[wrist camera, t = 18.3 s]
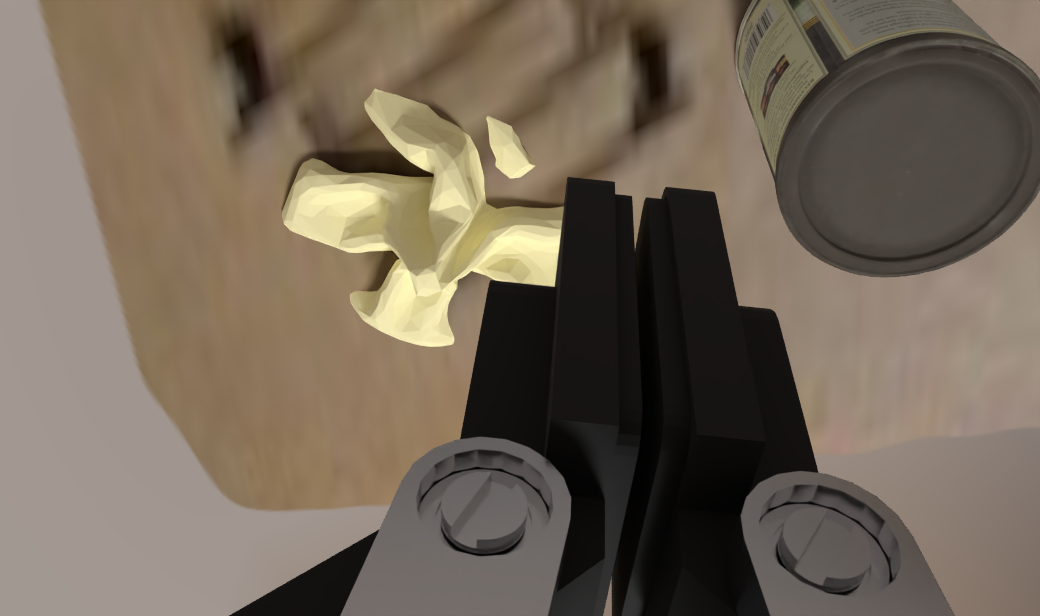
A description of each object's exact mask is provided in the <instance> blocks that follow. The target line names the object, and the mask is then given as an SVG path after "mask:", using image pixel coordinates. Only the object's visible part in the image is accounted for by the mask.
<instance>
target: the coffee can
mask: <svg viewBox="0 0 1040 616" xmlns="http://www.w3.org/2000/svg"><path fill="white" fill-rule="evenodd" d="M735 67H736V72H737V76H738V80H739V83H740V86H741V89H742V91H743V93H744V95H745V96H746V99H747V102H748V105H749V108H750V111H751V114H752V116H753V119H754V122H755V125H756V128H757V131H758V134H759V137H760V140H761V143H762V146H763V150H764V153H765V155H766V159H767V161H768V164H769V167H770V170H771V172H772V175H773V178H774V181H775V187H776V194H777V199H778V203H779V207H780V210H781V213H782V216H783V218H784V220H785V222H786V224H787V226H788V228H789V230H790V232H791V233H792V235H793V236H794V237H795V239H796V240H797V241H798V242H799V243H800V244H801V245H802V246H803V247H804V248H805V249H806V250H807V251H808V252H810V253H811V254H812V255H813V256H815V257H817V258H818V259H820V260H821V261H823V262H825V263H827V264H829V265H831V266H833V267H836V268H838V269H840V270H843V271H847V272H850V273H853V274H857V275H864V276H870V277H900V276H909V275H916V274H921V273H924V272H929V271H934V270H937V269H940V268H943V267H946V266H948V265H951V264H953V263H956V262H958V261H960V260H963V259H965V258H967V257H969V256H970V255H972V254H974V253H976V252H978V251H979V250H981V249H982V248H984V247H985V246H987V245H988V244H990V243H991V242H993V241H994V240H995V239H997V238H998V237H1000V236H1001V235H1002V234H1003V233H1004V232H1006V231H1007V230H1008V229H1009V228H1010V227H1011V226H1012V225H1013V224H1014V223H1015V222H1016V221H1017V220H1018V219H1019V218H1020V217H1021V215H1022V214H1023V213H1024V212H1025V211H1026V210H1027V208H1028V207H1029V206H1030V204H1031V203H1032V202H1033V200H1034V199H1035V198H1036V196H1037V194H1038V192H1039V191H1040V79H1039V78H1038V76H1037V75H1036V74H1035V73H1034V71H1033V70H1032V69H1030V68H1029V67H1028V66H1027V65H1026V64H1025V63H1024V62H1023V61H1021V60H1020V59H1019V58H1017V57H1016V56H1014V55H1013V54H1012V53H1010V52H1009V51H1007V50H1005V49H1004V48H1002V47H1001V46H1000V45H999V44H998V43H997V42H996V41H994V40H993V39H992V38H991V37H990V36H989V35H988V34H987V33H986V32H985V31H984V30H983V29H982V28H981V27H979V26H978V25H977V24H976V23H975V22H974V21H973V20H972V19H971V18H970V17H969V16H968V15H967V14H965V13H964V12H963V11H962V10H961V9H960V8H959V7H958V6H957V5H956V4H955V3H954V2H953V1H952V0H752V2H751V4H750V5H749V7H748V9H747V11H746V13H745V15H744V18H743V20H742V23H741V25H740V29H739V33H738V36H737V42H736V49H735Z"/></svg>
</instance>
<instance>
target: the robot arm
mask: <svg viewBox="0 0 1040 616" xmlns="http://www.w3.org/2000/svg"><path fill="white" fill-rule="evenodd" d="M611 576H612V616H955V615H954V613H953V611H952V609H951V607H950V606H949V604H948V602H947V600H946V598H945V596H944V594H943V593H942V590H941V588H940V587H939V585H938V583H937V581H936V579H935V577H934V575H933V573H932V571H931V570H930V568H929V566H928V564H927V562H926V560H925V558H924V556H923V554H922V552H921V551H920V549H919V547H918V545H917V543H916V541H915V539H914V537H913V536H912V534H911V533H910V531H909V530H908V529H907V527H906V526H905V525H904V523H903V522H902V520H901V519H900V517H899V516H898V515H897V514H896V513H895V512H894V511H893V510H892V509H890V508H889V507H888V506H887V505H886V504H885V503H884V502H883V501H881V500H880V499H879V498H878V497H877V496H875V495H873V494H871V493H870V492H868V491H866V490H864V489H863V488H861V487H859V486H857V485H855V484H854V483H852V482H849V481H846V480H843V479H840V478H837V477H834V476H831V475H828V474H823V473H818V469H817V465H816V462H815V458H814V454H813V450H812V446H811V442H810V438H809V435H808V431H807V427H806V423H805V419H804V416H803V412H802V408H801V404H800V400H799V397H798V393H797V389H796V385H795V381H794V377H793V374H792V370H791V366H790V362H789V358H788V355H787V351H786V347H785V343H784V339H783V335H782V332H781V328H780V324H779V320H778V318H777V316H776V313H775V312H774V311H773V310H771V309H765V308H755V307H745V306H738V301H737V297H736V292H735V287H734V282H733V277H732V272H731V267H730V263H729V258H728V253H727V248H726V243H725V238H724V233H723V229H722V224H721V219H720V214H719V209H718V204H717V199H716V195H715V193H714V192H711V191H701V190H691V189H681V188H671V187H666V188H665V189H664V192H663V195H662V199H656V198H646V199H645V201H644V205H643V210H642V215H641V221H640V227H639V232H638V238H637V243H636V249H635V246H634V226H633V206H632V196H626V195H617V194H615V182H612V181H602V180H592V179H582V178H572V177H568V178H567V185H566V193H565V202H564V210H563V219H562V227H561V236H560V245H559V253H558V262H557V270H556V279H555V287H553V286H543V285H533V284H524V283H514V282H504V281H495V280H491V281H490V283H489V288H488V292H487V298H486V303H485V308H484V314H483V319H482V325H481V330H480V335H479V341H478V346H477V351H476V357H475V362H474V368H473V373H472V378H471V384H470V389H469V395H468V400H467V405H466V411H465V416H464V421H463V427H462V432H461V438H460V439H459V440H454V441H452V442H449V443H446V444H444V445H441V446H439V447H436V448H433V449H432V450H431V451H429V452H428V453H426V454H425V455H424V456H422V457H421V458H420V459H418V460H417V461H416V462H414V464H413V465H412V467H411V468H410V470H409V471H408V472H407V474H406V475H405V477H404V478H403V480H402V481H401V484H400V486H399V488H398V490H397V492H396V495H395V497H394V499H393V501H392V503H391V506H390V508H389V510H388V512H387V515H386V517H385V519H384V521H383V523H382V526H381V527H380V529H379V530H377V531H376V532H374V533H372V534H371V535H369V536H367V537H366V538H364V539H362V540H360V541H358V542H357V543H355V544H353V545H352V546H350V547H348V548H346V549H344V550H343V551H341V552H339V553H337V554H336V555H334V556H332V557H330V558H329V559H327V560H326V561H323V562H322V563H320V564H318V565H317V566H315V567H313V568H311V569H310V570H308V571H306V572H305V573H303V574H301V575H299V576H297V577H296V578H294V579H292V580H290V581H289V582H287V583H285V584H283V585H282V586H280V587H278V588H276V589H275V590H273V591H271V592H270V593H268V594H266V595H264V596H263V597H261V598H259V599H257V600H256V601H254V602H252V603H250V604H249V605H247V606H245V607H244V608H242V609H240V610H238V611H236V612H235V613H233V614H232V615H229V616H603V613H604V608H605V603H606V599H607V595H608V590H609V585H610V581H611Z"/></svg>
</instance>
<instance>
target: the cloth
mask: <svg viewBox="0 0 1040 616" xmlns="http://www.w3.org/2000/svg"><path fill="white" fill-rule="evenodd" d="M365 109H366V111H367V113H368V114H369V116H370V118H371V119H372V121H373V122H374V123H375V124H376V125H377V127H378V128H379V129H380V130H381V131H382V132H383V134H384V135H385V137H386V138H387V139H388V141H389V142H390V143H391V145H392V146H394V147H395V148H396V149H397V150H398V151H399V152H400V153H401V154H402V155H403V156H404V157H405V158H406V159H408V160H409V161H410V162H411V163H413V164H415V165H416V166H418V167H420V168H421V169H423V170H426V171H428V172H430V173H433V174H434V177H407V176H399V175H392V174H383V173H372V172H371V173H346V172H342V171H338V170H337V169H335V168H333V167H332V166H330V165H328V164H327V163H325V162H323V161H321V160H317V159H314V158H311V159H310V160H308V161H305V162H303V164H302V165H301V167H300V169H299V171H298V173H297V176H296V178H295V181H294V183H293V185H292V188H291V190H290V193H289V195H288V198H287V200H286V203H285V206H284V208H283V211H282V217H283V222H284V224H285V225H286V226H287V227H288V228H289V229H290V230H291V231H292V232H295V233H298V234H300V235H303V236H305V237H308V238H310V239H313V240H316V241H319V242H322V243H325V244H328V245H330V246H333V247H336V248H339V249H341V250H344V251H346V252H351V253H361V252H367V251H394V252H395V254H396V255H397V256H398V257H399V259H398V260H396V262H395V263H394V265H393V266H392V268H391V270H390V271H389V273H388V275H387V277H386V279H385V281H384V283H383V284H382V286H381V287H380V289H379V290H378V291H373V292H366V291H355V292H353V293H351V294H350V303H351V304H352V305H353V307H354V309H355V310H356V311H357V313H358V314H359V315H360V317H361V318H362V319H363V320H364V321H365V322H367V323H368V324H370V325H371V326H373V327H375V328H376V329H378V330H379V331H381V332H384V333H386V334H388V335H390V336H393V337H395V338H397V339H399V340H402V341H406V342H410V343H413V344H417V345H422V346H428V347H435V346H445V345H452V344H454V339H455V338H454V336H453V334H452V331H451V329H450V326H449V324H448V319H447V310H448V304H449V302H450V299H451V298H452V296H453V294H454V292H455V291H456V289H457V280H459V279H460V278H462V277H464V276H466V275H467V274H468V273H469V272H470V271H474V272H477V273H480V274H483V275H486V276H488V277H490V278H492V279H494V280H496V281H504V282H514V283H524V284H533V285H543V286H553V287H555V279H556V270H557V262H558V253H559V245H560V236H561V227H562V219H563V210H564V206H562V207H556V208H527V207H520V206H514V207H504V208H500V209H496V208H494V207H492V206H490V205H489V204H487V203H486V198H485V191H484V176H483V172H482V167H481V163H480V159H479V155H478V151H477V149H476V147H475V145H474V144H473V142H472V140H471V138H470V136H469V135H468V134H466V133H464V132H463V131H462V130H461V129H460V128H459V127H458V126H456V125H454V124H452V123H450V122H449V121H447V120H444V119H442V118H440V117H439V116H438V115H437V114H436V113H435V112H434V111H433V110H432V109H431V108H430V107H429V106H428V105H425V104H422V103H419V102H416V101H413V100H410V99H407V98H404V97H401V96H398V95H395V94H390V93H386V92H383V91H380V90H377V89H374V91H373V93H372V94H371V95H370V96H369V98H368V99H367V100H366V101H365ZM486 119H487V122H488V128H489V139H490V146H491V148H492V150H493V153H494V155H495V157H496V165H495V166H496V167H497V168H498V169H500V170H501V171H502V172H503V173H504V174H505V175H507V176H508V177H509V178H519V177H521V176H523V175H524V174H525V173H527V172H528V171H529V170H531V169H532V168H533V167H535V164H534V163H533V161H532V160H531V158H530V156H529V155H528V154H527V152H526V151H525V150H524V148H523V146H522V144H521V142H520V139H519V138H518V136H517V135H516V134H515V132H514V131H513V129H512V126H509V125H507V124H505V123H503V122H500V121H498V120H496V119H494V118H492V117H490V116H488V117H487V118H486Z"/></svg>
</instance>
